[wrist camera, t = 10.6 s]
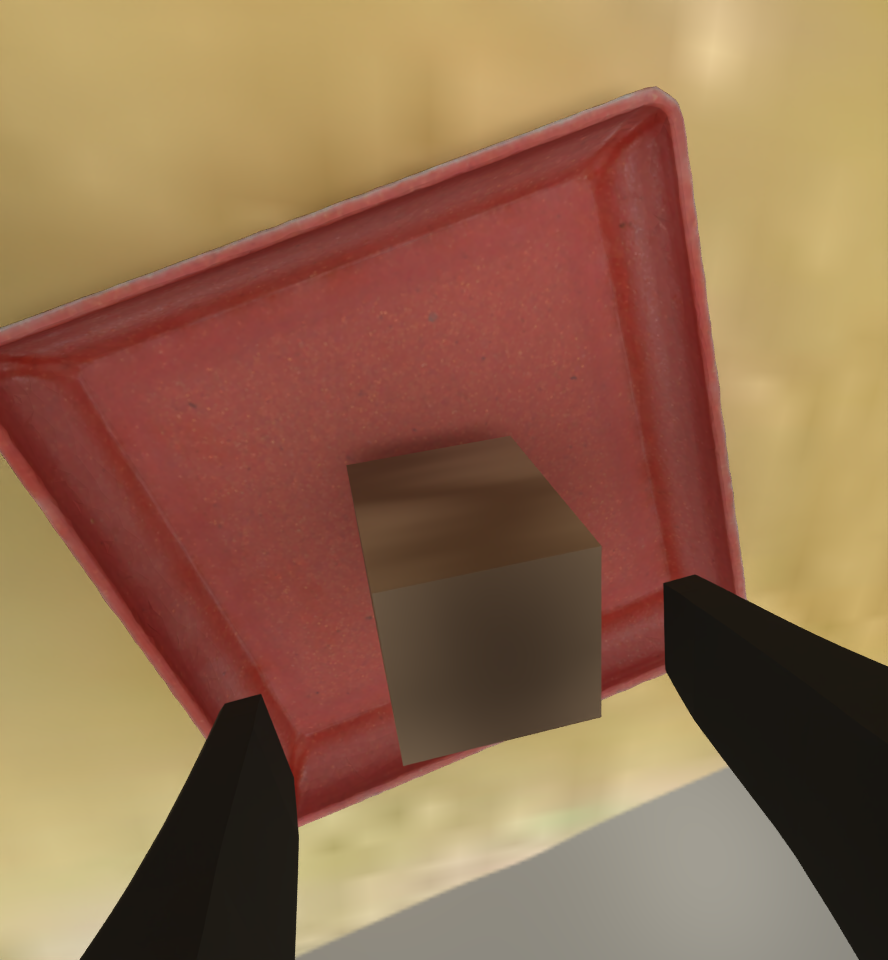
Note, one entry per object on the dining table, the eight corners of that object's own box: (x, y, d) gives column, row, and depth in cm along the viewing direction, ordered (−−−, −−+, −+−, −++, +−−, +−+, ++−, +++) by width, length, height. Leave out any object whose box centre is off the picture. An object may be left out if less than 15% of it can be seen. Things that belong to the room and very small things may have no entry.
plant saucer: (622, 86, 18) (685, 71, 15) (706, 588, 27) (757, 641, 24) (-14, 323, 18) (-75, 355, 15) (277, 762, 26) (275, 839, 23)
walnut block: (371, 603, 20) (403, 766, 14) (345, 465, 18) (371, 593, 12) (519, 572, 20) (600, 716, 15) (509, 435, 18) (601, 546, 13)
